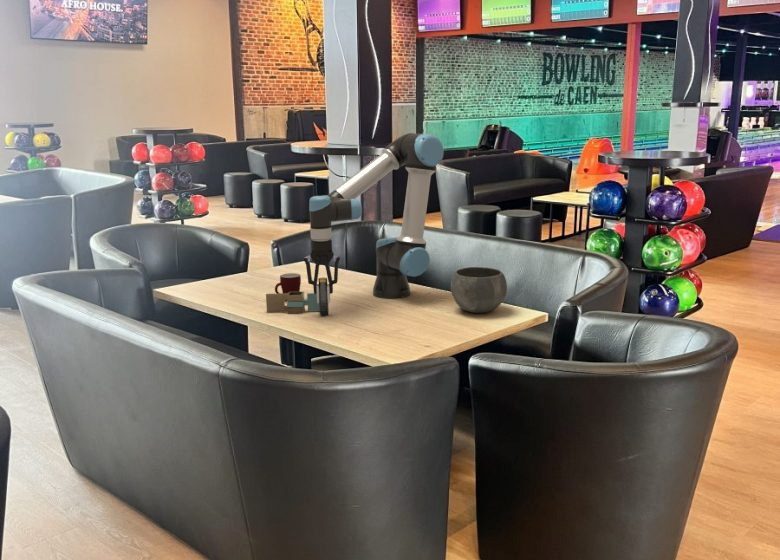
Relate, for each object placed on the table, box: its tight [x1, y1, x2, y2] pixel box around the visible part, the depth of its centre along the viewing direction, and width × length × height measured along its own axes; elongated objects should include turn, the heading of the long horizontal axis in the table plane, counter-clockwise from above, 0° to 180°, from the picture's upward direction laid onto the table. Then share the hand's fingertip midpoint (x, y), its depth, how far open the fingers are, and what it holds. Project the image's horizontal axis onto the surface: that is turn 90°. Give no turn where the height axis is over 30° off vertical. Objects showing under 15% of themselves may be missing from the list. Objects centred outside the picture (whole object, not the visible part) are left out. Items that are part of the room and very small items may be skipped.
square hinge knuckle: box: [265, 291, 306, 315], centre depth 290 cm, size 14×6×7 cm, turn 90°
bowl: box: [450, 266, 508, 314], centre depth 286 cm, size 20×20×15 cm
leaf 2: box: [286, 292, 320, 312], centre depth 290 cm, size 14×6×7 cm, turn 90°
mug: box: [274, 272, 302, 294], centre depth 307 cm, size 11×8×10 cm
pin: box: [317, 277, 330, 318], centre depth 284 cm, size 3×3×14 cm
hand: (323, 302), depth 284 cm, fingers closed on pin, 3 cm apart
